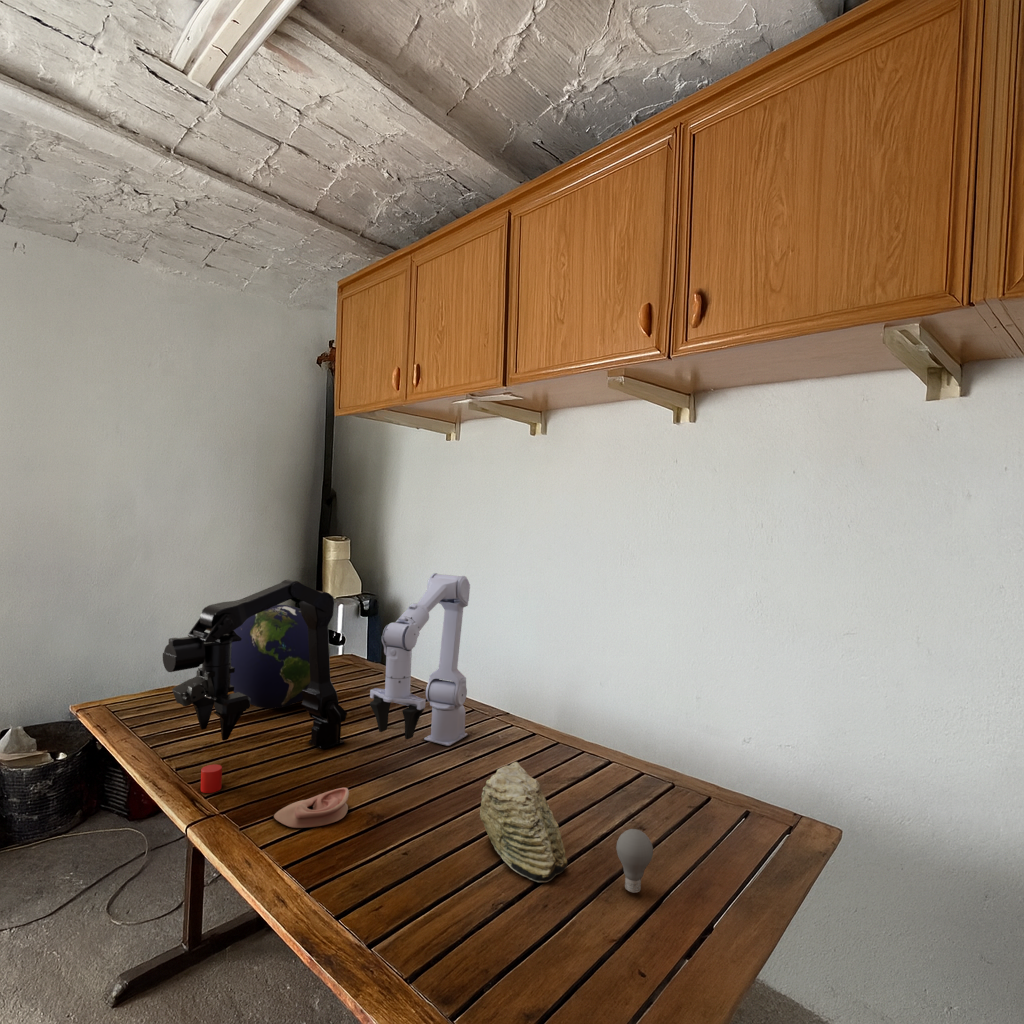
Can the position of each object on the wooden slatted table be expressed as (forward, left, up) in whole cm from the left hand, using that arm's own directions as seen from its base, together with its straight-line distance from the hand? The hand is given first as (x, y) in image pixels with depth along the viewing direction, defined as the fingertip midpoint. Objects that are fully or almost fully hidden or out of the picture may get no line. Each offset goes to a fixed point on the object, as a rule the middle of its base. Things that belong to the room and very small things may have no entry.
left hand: (214, 734), depth 138 cm
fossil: (-27, +66, -10) cm, 72 cm away
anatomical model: (-8, +28, -10) cm, 31 cm away
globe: (-34, -37, -10) cm, 51 cm away
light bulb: (-33, +86, -10) cm, 93 cm away
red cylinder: (+2, +3, -10) cm, 11 cm away
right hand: (-31, +24, -1) cm, 39 cm away
